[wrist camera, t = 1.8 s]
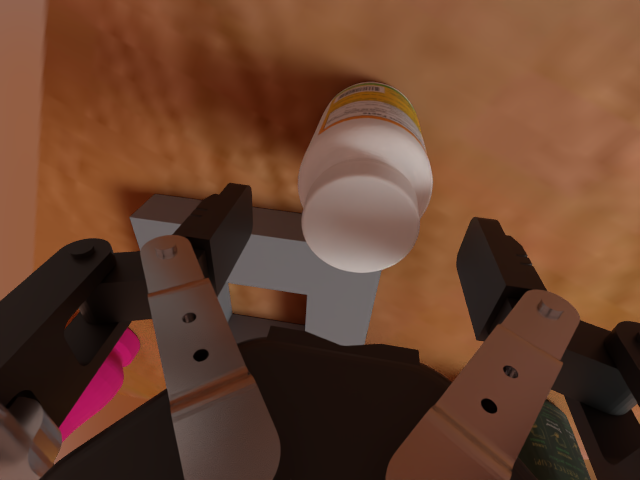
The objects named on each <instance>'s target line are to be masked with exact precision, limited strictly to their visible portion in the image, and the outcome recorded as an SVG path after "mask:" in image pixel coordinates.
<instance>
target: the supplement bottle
mask: <svg viewBox="0 0 640 480" xmlns="http://www.w3.org/2000/svg"><path fill="white" fill-rule="evenodd" d="M432 185H433V180H432V172H431V167H430V162H429V159H428V155H427V152H426V148H425V144H424V140H423V137H422V133H421V129H420V125H419V122H418V118H417V115H416V113H415V110H414V108H413V106H412V105H411V103H410V102H409V100H408V99H407V98H406V97H405V96H404V95H403V94H402V93H401V92H400V91H398V90H397V89H395V88H394V87H392V86H389V85H386V84H383V83H378V82H363V83H358V84H355V85H352V86H350V87H348V88H346V89H344V90H343V91H341V92H340V93H339V94H337V95H336V96H335V97H334V98H333V99H332V100H331V102H330V103H329V104H328V106H327V108H326V109H325V111H324V113H323V115H322V117H321V119H320V122H319V124H318V126H317V129H316V131H315V133H314V135H313V137H312V140H311V142H310V144H309V146H308V148H307V150H306V153H305V155H304V157H303V160H302V163H301V166H300V170H299V175H298V192H299V197H300V201H301V204H302V206H303V212H302V218H301V223H302V232H303V235H304V238H305V240H306V242H307V244H308V246H309V247H310V249H311V250H312V251H313V252H314V253H315V254H316V255H317V256H318V257H319V258H320V259H321V260H323V261H324V262H326V263H327V264H329V265H331V266H333V267H335V268H338V269H341V270H344V271H349V272H356V273H367V272H375V271H379V270H382V269H385V268H388V267H390V266H392V265H394V264H396V263H397V262H399V261H400V260H402V259H403V258H404V257H405V256H406V255H407V254H408V253H409V252H410V250H411V249H412V248H413V246H414V244H415V242H416V240H417V237H418V234H419V228H420V218H421V217H422V215H423V214H424V212H425V210H426V208H427V206H428V204H429V201H430V198H431V194H432Z"/></svg>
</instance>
